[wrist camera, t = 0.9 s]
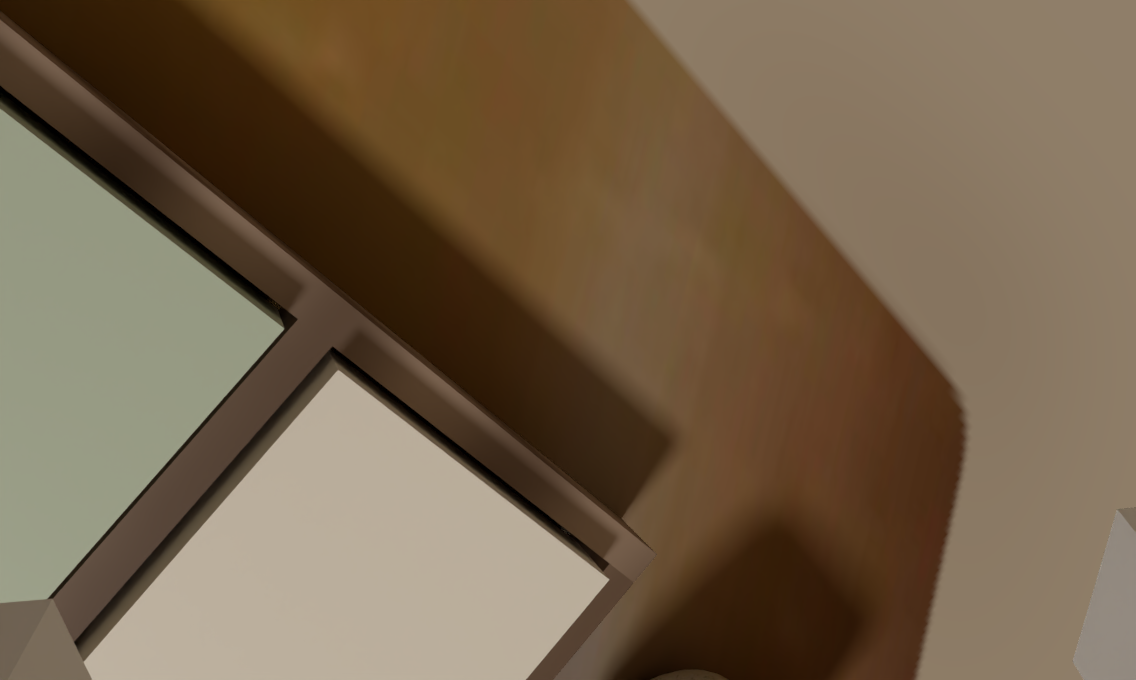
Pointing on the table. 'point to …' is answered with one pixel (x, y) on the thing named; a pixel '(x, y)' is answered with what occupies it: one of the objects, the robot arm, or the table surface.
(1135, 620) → the robot arm
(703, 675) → the ceramic mug
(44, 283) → the sage key
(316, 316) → the key pad frame
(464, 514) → the cream key
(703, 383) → the table surface
